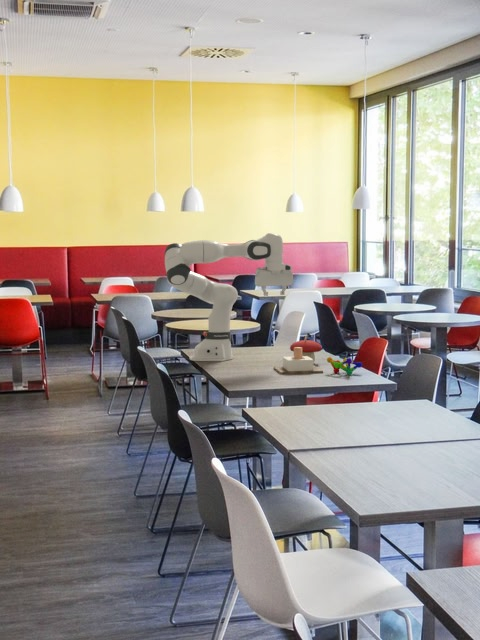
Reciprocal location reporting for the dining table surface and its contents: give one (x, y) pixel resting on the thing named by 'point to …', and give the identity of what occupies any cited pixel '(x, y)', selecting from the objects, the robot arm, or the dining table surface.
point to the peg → (297, 352)
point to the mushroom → (307, 347)
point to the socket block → (298, 364)
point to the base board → (284, 371)
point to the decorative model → (340, 365)
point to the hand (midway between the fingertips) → (274, 295)
